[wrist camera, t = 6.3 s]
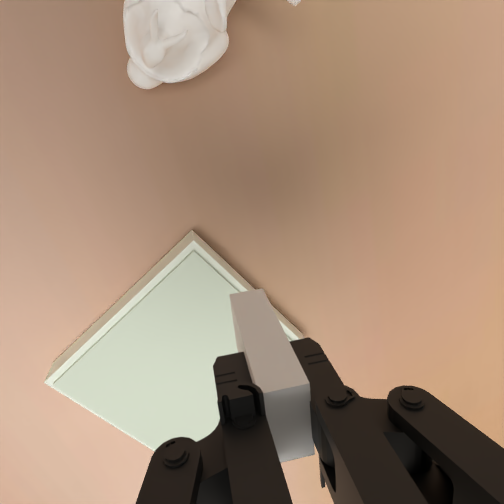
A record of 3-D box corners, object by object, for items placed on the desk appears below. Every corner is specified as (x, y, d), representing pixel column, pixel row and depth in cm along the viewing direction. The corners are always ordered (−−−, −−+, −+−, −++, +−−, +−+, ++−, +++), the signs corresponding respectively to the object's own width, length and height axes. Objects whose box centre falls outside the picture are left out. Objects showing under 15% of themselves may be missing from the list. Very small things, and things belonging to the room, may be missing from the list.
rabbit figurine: (204, -115, 24) (223, -242, 15) (297, -21, 27) (360, -83, 18) (99, 58, 26) (62, 34, 17) (195, 129, 29) (205, 141, 20)
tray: (53, 362, 33) (42, 385, 30) (191, 229, 31) (194, 242, 28) (177, 443, 38) (177, 469, 35) (301, 333, 36) (312, 352, 34)
